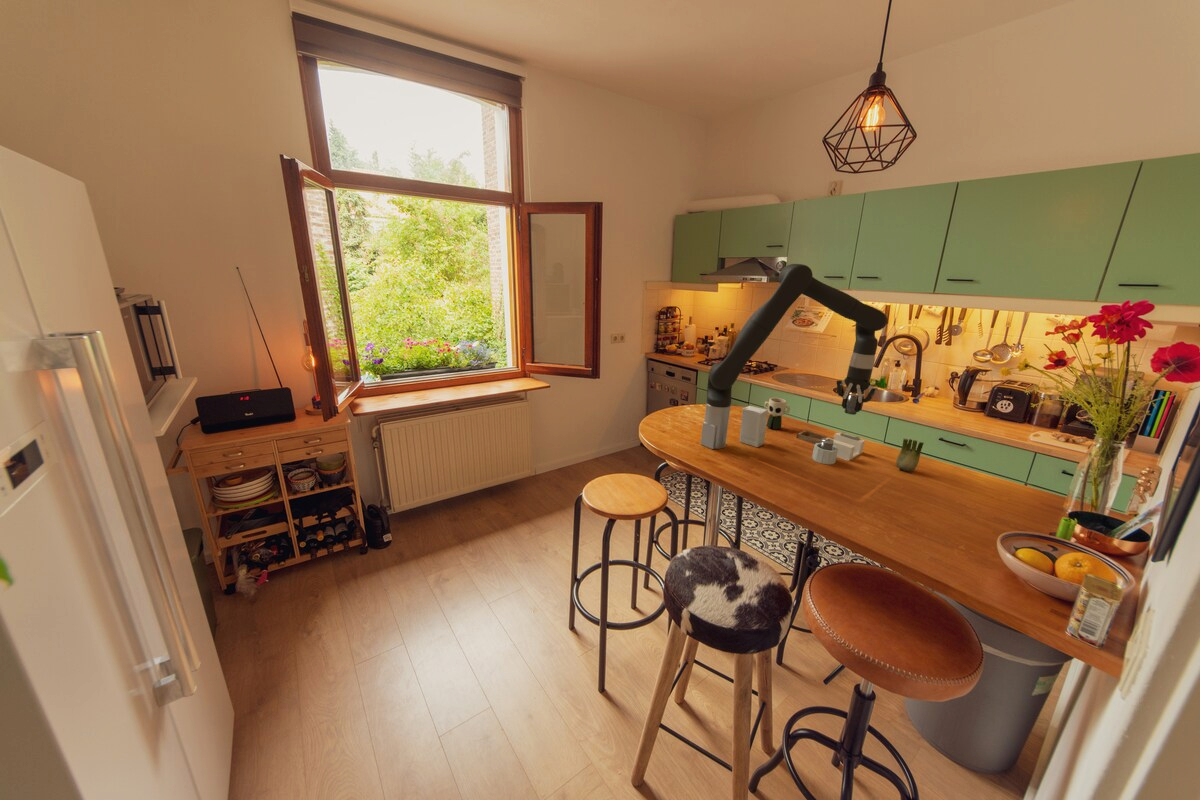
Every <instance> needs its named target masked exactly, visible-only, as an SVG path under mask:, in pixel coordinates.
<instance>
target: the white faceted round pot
mask: <svg viewBox="0 0 1200 800" xmlns="http://www.w3.org/2000/svg"><path fill="white" fill-rule="evenodd" d="M820 444H821V443H816V444H814V446H813V447H814V448H813V451H812V455H811V456H812V457H811V458H812V460H813V461H815V462H816V463H820V464H823V465H834V464H835V463H836V460H837V458H838V457H837V452H838V448H837V447H835V446H834V445H833V447H832V450H830V451H829V450H824V449H821V448H820Z"/></svg>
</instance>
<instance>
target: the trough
mask: <svg viewBox="0 0 1200 800" xmlns="http://www.w3.org/2000/svg"><path fill="white" fill-rule="evenodd" d="M822 438H831V439H833V438H832V437H829V436H825V435H823V434H819V433H817V432H814V431H810V430H807V429H805V430H803V431H800V432H798V433H797V434H796V439H799V440H802V441H805V442H808V443H810V444H814V445H815V444H816V443H821V440H822Z"/></svg>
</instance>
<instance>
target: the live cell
mask: <svg viewBox="0 0 1200 800" xmlns="http://www.w3.org/2000/svg"><path fill="white" fill-rule="evenodd" d="M857 402H858V396H857V393H855V392H849V394H848V398H847V402H846V407H845V409H844V412H843V413H845V414H846V415H847V414H848V415H852V416H853V415H854V416H855V415H857V413H858V412H855V410H856V406H857Z"/></svg>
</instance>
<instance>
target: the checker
mask: <svg viewBox="0 0 1200 800" xmlns="http://www.w3.org/2000/svg"><path fill="white" fill-rule="evenodd" d="M831 438H832V437H829V439H831ZM832 440H833V441H834V443H833V445H834V446H835V447H837V448H838V452H837V457H836V458H838V459H841V460H845V461H847V462H848V461H851V460H852V459H855V458H857V457H858V456H859V455H861V454H862V453H863V450H864V445H865V440H864V439H860V436H857V435H853V434H850V433H848V432H844V431H842V432H836V433H834V435H833V438H832Z"/></svg>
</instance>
